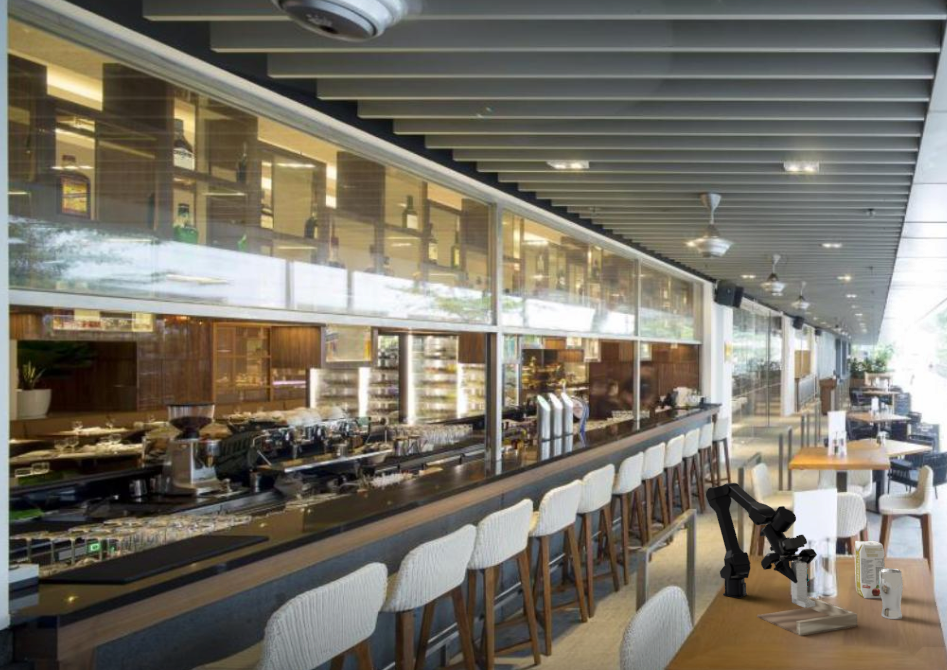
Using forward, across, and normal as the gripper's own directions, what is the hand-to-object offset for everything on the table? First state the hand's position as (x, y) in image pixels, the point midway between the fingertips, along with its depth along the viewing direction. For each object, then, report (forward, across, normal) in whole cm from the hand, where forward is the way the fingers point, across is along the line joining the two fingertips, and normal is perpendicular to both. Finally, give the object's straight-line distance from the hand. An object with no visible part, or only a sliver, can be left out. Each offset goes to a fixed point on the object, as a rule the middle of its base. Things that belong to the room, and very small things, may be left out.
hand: (802, 581), depth 264 cm
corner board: (+8, +2, +10) cm, 14 cm away
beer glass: (+13, +31, +6) cm, 35 cm away
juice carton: (-1, +43, +20) cm, 47 cm away
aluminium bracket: (+5, 0, +5) cm, 7 cm away
